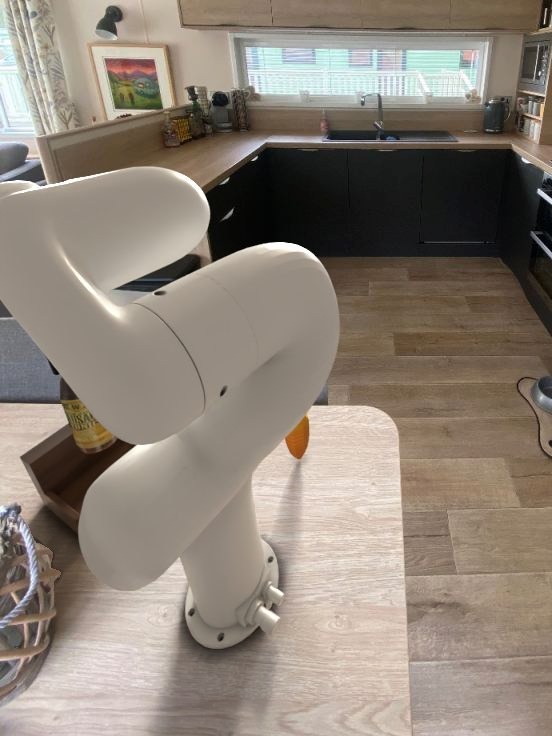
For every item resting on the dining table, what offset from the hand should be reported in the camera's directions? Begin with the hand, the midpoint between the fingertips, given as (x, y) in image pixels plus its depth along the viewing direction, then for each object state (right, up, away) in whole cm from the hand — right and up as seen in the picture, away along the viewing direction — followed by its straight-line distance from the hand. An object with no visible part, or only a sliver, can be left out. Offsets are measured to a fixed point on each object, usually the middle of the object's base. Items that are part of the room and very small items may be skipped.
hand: (75, 373), depth 60 cm
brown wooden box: (-2, -23, +11) cm, 26 cm away
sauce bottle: (0, -14, +6) cm, 15 cm away
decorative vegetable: (+32, -15, +11) cm, 37 cm away
